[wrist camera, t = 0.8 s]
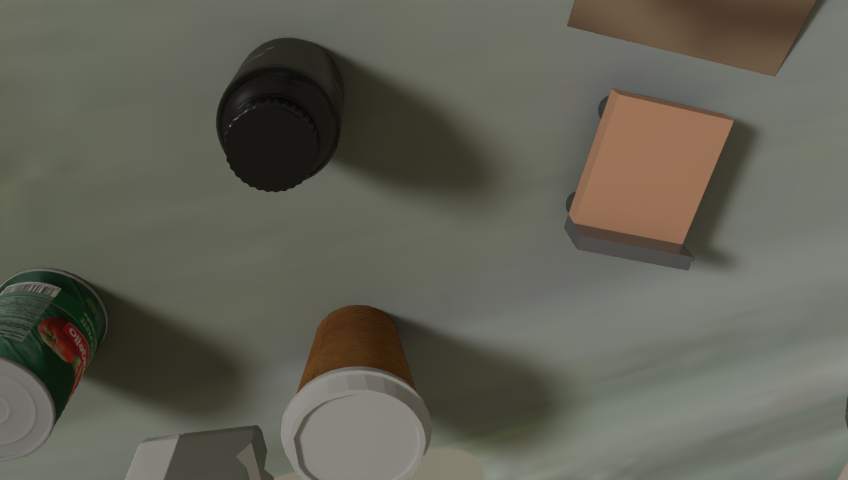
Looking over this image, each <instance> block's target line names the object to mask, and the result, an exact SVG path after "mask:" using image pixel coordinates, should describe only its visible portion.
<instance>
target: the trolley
mask: <svg viewBox="0 0 848 480" xmlns="http://www.w3.org/2000/svg"><path fill="white" fill-rule="evenodd" d="M598 113H599V116H600V118H601V121H600V124H599V127H598V130H597V133H596V136H595V139H594V141H593V144H592V147H591V150H590V153H589V156H588V159H587V162H586V165H585V168H584V171H583V173H582V176H581V179H580V182H579V185H578V188H577V191H576V192H574V193H572V194H571V195H570V196H569V197H568V199H567V201H566V209H567V211H568V213H569V214H568V217H567V220H566V223H565V226H564V228H565V230H566V232H567V233H568V235H569V237H570V238H571V240H572V242H573V243H574V245H575V247H576V249H578V250H583V251H589V252H594V253H599V254H604V255H610V256H615V257H620V258H625V259H631V260H636V261H641V262H646V263H652V264H657V265H662V266H667V267H672V268H678V269H683V270H689V268H690V265H691V263H692V261H693V258H694V257H693V256H692V255H691V254H690V253H689V251H688V250H687V249H686V248H685V247H684V246H683V245H682V244H683V242H684V239H685V237H686V235H687V232H688V230H689V227H690V225H691V223H692V220H693V218H694V215H695V213H696V211H697V208H698V206H699V204H700V201H701V199H702V196H703V194H704V192H705V189H706V187H707V184H708V182H709V180H710V177H711V175H712V172H713V170H714V168H715V165H716V163H717V160H718V158H719V156H720V153H721V151H722V148H723V146H724V144H725V141H726V139H727V136H728V134H729V132H730V129H731V127H732V124H733V122H734V121H733V120H732V119H730V118H729V117H727V116H726V115H724V114H720V113H716V112H711V111H707V110H703V109H698V108H694V107H690V106H685V105H681V104H677V103H672V102H668V101H664V100H659V99H655V98H651V97H646V96H642V95H638V94H633V93H629V92H625V91H620V90H616V89H611V92H610V95H609V96H607V97H605V98H604V99H603V100H602V101H601V102H600V104H599V108H598Z"/></svg>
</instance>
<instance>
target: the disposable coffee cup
mask: <svg viewBox="0 0 848 480" xmlns="http://www.w3.org/2000/svg"><path fill="white" fill-rule="evenodd" d="M431 433H432V426H431V418H430V414H429V411H428V409H427V407H426V405H425V403H424V401H423V399H422V397H421V396H420V395H419V394H418V393H417V392H416V389H415V386H414V383H413V380H412V376H411V373H410V370H409V367H408V364H407V361H406V358H405V355H404V352H403V349H402V345H401V343H400V339H399V336H398V333H397V329H396V327H395V325H394V323H393V322H392V321H391V319H390V318H389V317H388V316H387V315H385V314H384V313H383V312H381V311H379V310H377V309H375V308H372V307H368V306H360V305H354V306H346V307H342V308H340V309H338V310H335V311H334V312H332V313H330V314H329V315H328V316H327V317H326V318H325V319H324V320H323V321H322V322H321V324H320V325H319V327H318V330H317V333H316V336H315V339H314V342H313V345H312V348H311V351H310V354H309V357H308V361H307V364H306V367H305V370H304V373H303V376H302V379H301V382H300V385H299V388H298V391H297V394H296V395H295V396H294V398H293V399H292V400H291V401H290V403H289V405H288V407H287V409H286V411H285V413H284V415H283V419H282V423H281V439H282V445H283V447H284V450H285V453H286V455H287V456H288V458H289V460H290V462H291V465H292V466H293V468H294V470H295V472H296V473H297V474H298V475H299V476H300V477H301V479H303V480H408V479H409V478H410V477H411V476H412V475H413V473H414V472H415V471H416V470H417V468H418V467H419V465H420V463H421V461H422V459H423V456H424V455H425V453H426V451H427V449H428V446H429V443H430V440H431Z"/></svg>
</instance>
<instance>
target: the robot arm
mask: <svg viewBox="0 0 848 480" xmlns="http://www.w3.org/2000/svg"><path fill="white" fill-rule="evenodd" d="M845 419H846V423H847V428H848V397H847V405H846V415H845ZM266 454H267V448H266V444H265V440H264V437H263V433H262V430H261V429H260V428H259V426H258V425H254V426H245V427H237V428H228V429H219V430H210V431H202V432H193V433H184V434H183V435H181V434H177V435H169V436H162V437H154V438H147V439H145V440H144V441H142V442H141V443H140V444H139V446H138V448H137V450H136V453H135V455H134V458H133V460H132V463H131V465H130V468H129V470H128V473H127V475H126V477H125V480H274V477H273V476H272V475H271V474H269V473H268V472H267V471H266V470H264V468H265V461H266Z"/></svg>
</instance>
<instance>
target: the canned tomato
mask: <svg viewBox="0 0 848 480" xmlns="http://www.w3.org/2000/svg"><path fill="white" fill-rule="evenodd" d="M107 329H108V315H107V311H106V308H105V305H104V303H103V301H102V300H101V298H100V296H99V295H98V294H97V293H96V292H95V290H94V289H93V288H92V287H91V286H89V285H88V284H87V283H86V282H84V281H83V280H81V279H80V278H78V277H76V276H74V275H72V274H69V273H67V272H64V271H61V270H56V269H51V268H35V269H28V270H25V271H22V272H19V273H17V274H15V275H13V276H12V277H10V278H8V279H7V280H6V281H5V282H4V283H3V284H2V285H1V286H0V461H7V460H14V459H18V458H21V457H24V456H26V455H28V454H30V453H32V452H34V451H36V450H37V449H38V448H39V447H40V446H42V445H43V444H44V443H45V442H46V440H47V439H48V437H49V436H50V435H51V432H52V430H53V427H54V425H55V424H56V422H57V420H58V419H59V417H60V416H61V413H62V411H63V410H64V409H65V406H66V404H67V403H68V401H69V400H70V397H71V396H72V394H73V393H74V390H75V389H76V387H77V386H78V383H79V382H80V380H81V378H82V376H83V375H84V373H85V371H86V369H87V368H88V366H89V364H90V362H91V361H92V359H93V356H94V355H95V354H96V352H97V349H98V347H99V346H100V345H101V343H102V342H103V340H104V338H105V336H106V333H107Z"/></svg>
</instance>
